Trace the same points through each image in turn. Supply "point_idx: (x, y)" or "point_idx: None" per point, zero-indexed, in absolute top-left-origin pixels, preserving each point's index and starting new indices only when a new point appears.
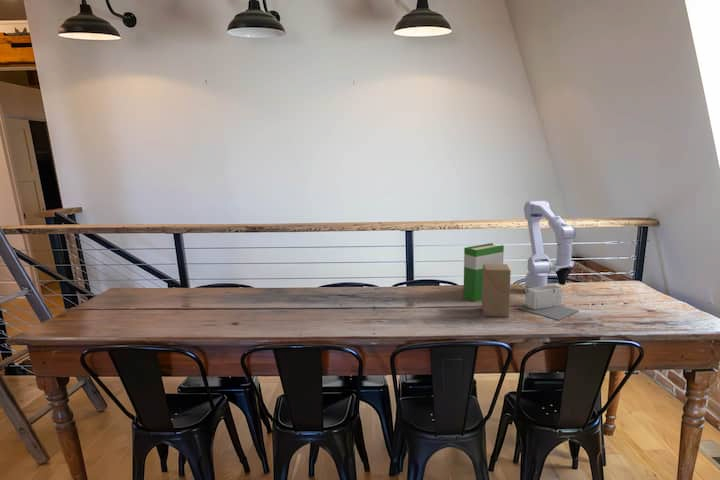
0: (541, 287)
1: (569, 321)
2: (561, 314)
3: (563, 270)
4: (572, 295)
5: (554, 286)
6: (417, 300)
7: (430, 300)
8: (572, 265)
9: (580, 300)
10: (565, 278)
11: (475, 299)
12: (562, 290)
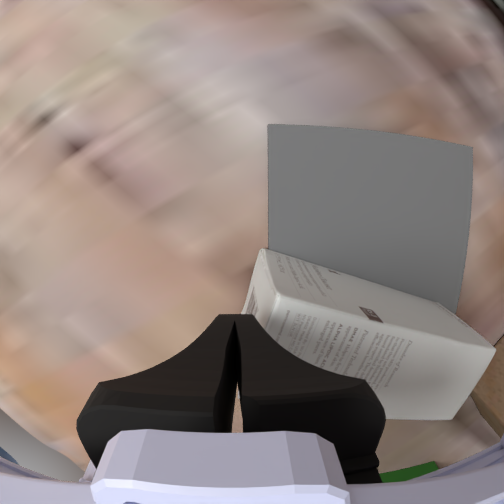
0: (387, 399)
1: (445, 103)
2: (410, 168)
3: (347, 451)
4: (38, 306)
5: None
6: None
7: None
8: (200, 493)
9: (66, 233)
10: (251, 342)
11: (435, 466)
12: (274, 286)
